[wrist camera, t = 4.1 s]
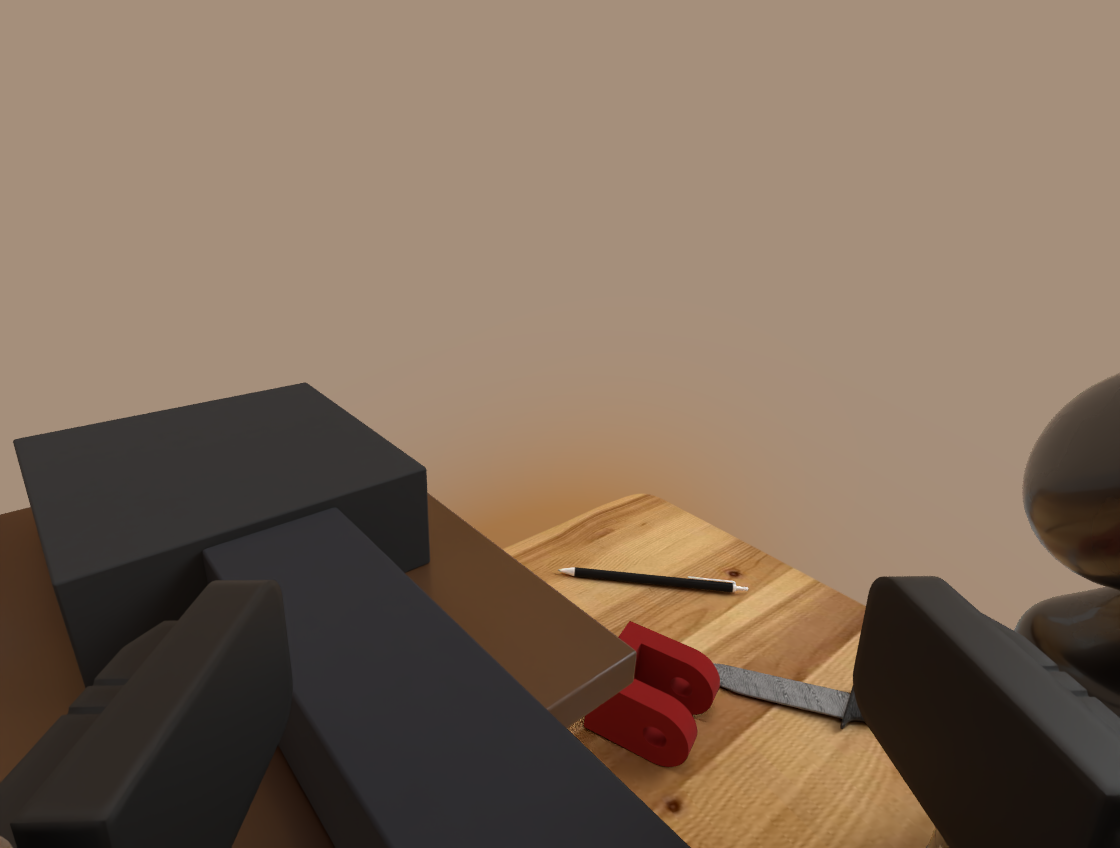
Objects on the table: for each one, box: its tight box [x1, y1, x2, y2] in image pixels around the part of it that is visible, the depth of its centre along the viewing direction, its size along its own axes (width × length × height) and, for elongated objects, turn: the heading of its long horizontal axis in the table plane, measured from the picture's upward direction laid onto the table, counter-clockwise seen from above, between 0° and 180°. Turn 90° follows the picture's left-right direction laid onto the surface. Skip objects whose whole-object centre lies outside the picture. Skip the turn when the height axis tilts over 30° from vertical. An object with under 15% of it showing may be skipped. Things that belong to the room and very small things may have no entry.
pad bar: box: [13, 383, 691, 848], centre depth 13 cm, size 8×22×3 cm, turn 41°
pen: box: [558, 567, 748, 593], centre depth 67 cm, size 1×19×1 cm
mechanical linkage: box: [584, 621, 720, 767], centre depth 52 cm, size 16×7×5 cm, turn 60°
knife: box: [714, 664, 865, 729], centre depth 53 cm, size 22×1×5 cm
